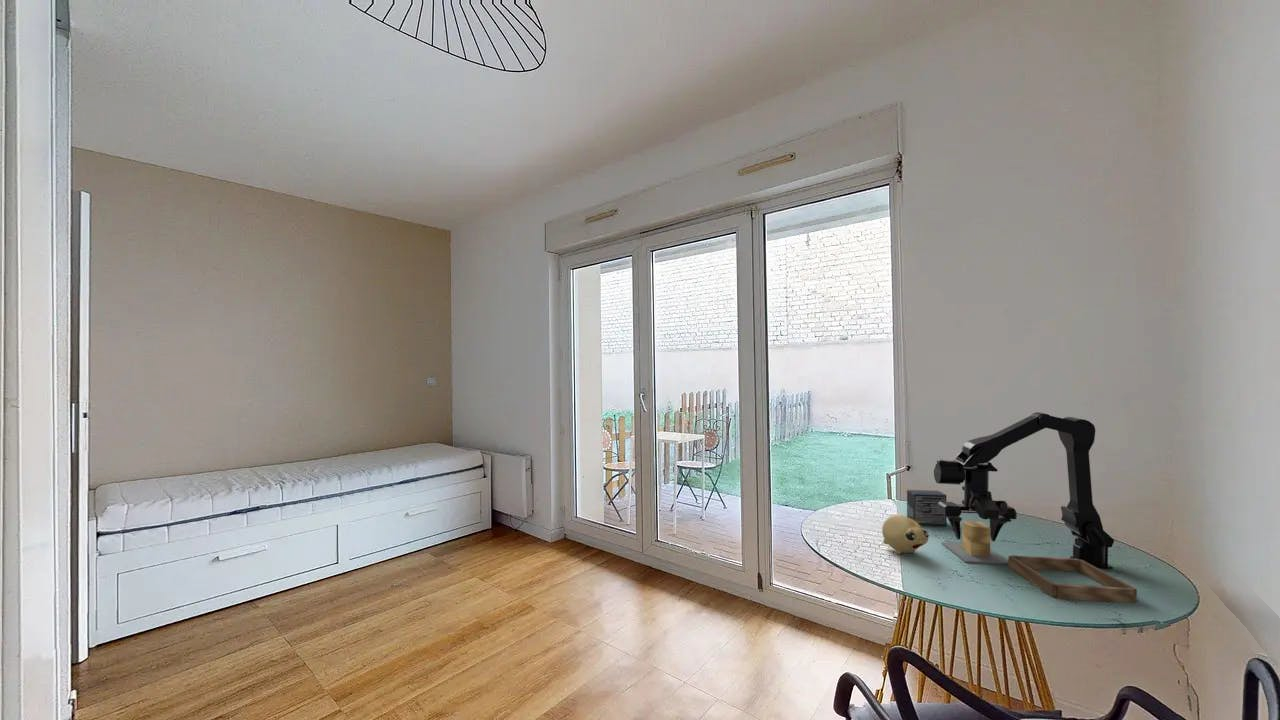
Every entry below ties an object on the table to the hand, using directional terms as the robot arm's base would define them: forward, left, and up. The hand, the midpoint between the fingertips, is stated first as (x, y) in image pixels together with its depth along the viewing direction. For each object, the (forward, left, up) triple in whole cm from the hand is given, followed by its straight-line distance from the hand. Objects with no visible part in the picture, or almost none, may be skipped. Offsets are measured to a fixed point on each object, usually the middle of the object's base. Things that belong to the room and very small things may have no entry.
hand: (975, 540), depth 145 cm
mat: (0, 0, -4) cm, 4 cm away
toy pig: (+20, +2, -4) cm, 21 cm away
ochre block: (0, 0, -4) cm, 4 cm away
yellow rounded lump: (+12, -18, -4) cm, 22 cm away
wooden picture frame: (-13, +17, -4) cm, 22 cm away
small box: (+2, -27, -4) cm, 27 cm away
